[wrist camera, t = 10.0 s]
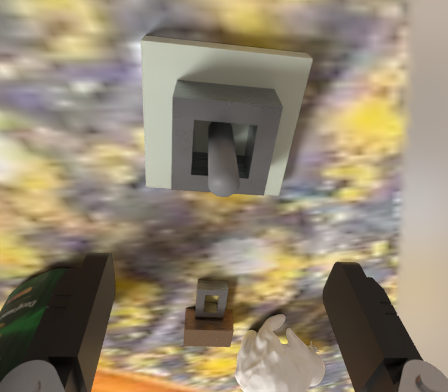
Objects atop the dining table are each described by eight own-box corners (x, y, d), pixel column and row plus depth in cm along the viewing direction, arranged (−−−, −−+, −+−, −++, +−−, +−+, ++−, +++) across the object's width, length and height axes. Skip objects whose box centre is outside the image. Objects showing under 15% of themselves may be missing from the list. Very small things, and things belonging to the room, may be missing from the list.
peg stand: (149, 176, 26) (128, 249, 19) (145, 35, 20) (114, 72, 13) (275, 184, 27) (297, 258, 20) (306, 52, 21) (351, 96, 14)
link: (175, 165, 23) (171, 189, 21) (176, 79, 20) (172, 96, 18) (258, 171, 24) (264, 195, 22) (274, 89, 21) (283, 106, 18)
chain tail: (184, 324, 37) (183, 345, 35) (187, 279, 33) (186, 300, 31) (229, 325, 38) (230, 346, 36) (237, 281, 33) (239, 302, 31)
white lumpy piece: (284, 389, 28) (358, 410, 34) (264, 302, 35) (329, 332, 41) (233, 414, 31) (310, 430, 37) (224, 328, 38) (290, 354, 43)
